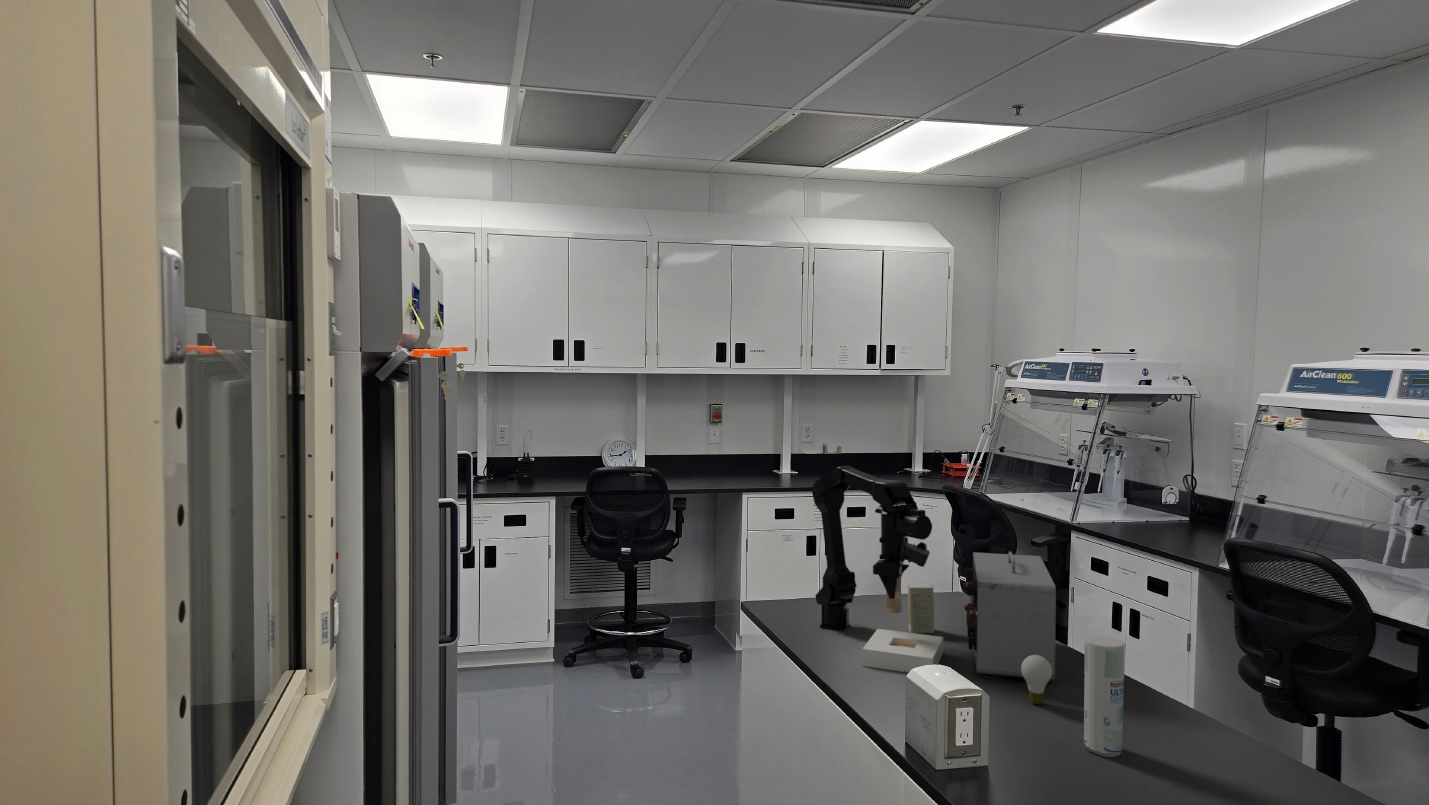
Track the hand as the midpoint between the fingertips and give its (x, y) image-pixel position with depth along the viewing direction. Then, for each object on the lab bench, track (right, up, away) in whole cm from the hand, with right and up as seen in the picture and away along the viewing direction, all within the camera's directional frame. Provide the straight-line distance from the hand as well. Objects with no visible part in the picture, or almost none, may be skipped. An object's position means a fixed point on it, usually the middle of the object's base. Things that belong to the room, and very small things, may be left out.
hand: (893, 596), depth 199 cm
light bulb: (+23, -15, -31) cm, 41 cm away
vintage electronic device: (+25, -14, -5) cm, 29 cm away
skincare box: (+11, -13, +16) cm, 23 cm away
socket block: (+1, -14, -5) cm, 15 cm away
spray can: (+27, -16, -51) cm, 60 cm away
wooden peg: (0, -4, 0) cm, 4 cm away
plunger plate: (+1, -12, -5) cm, 13 cm away
